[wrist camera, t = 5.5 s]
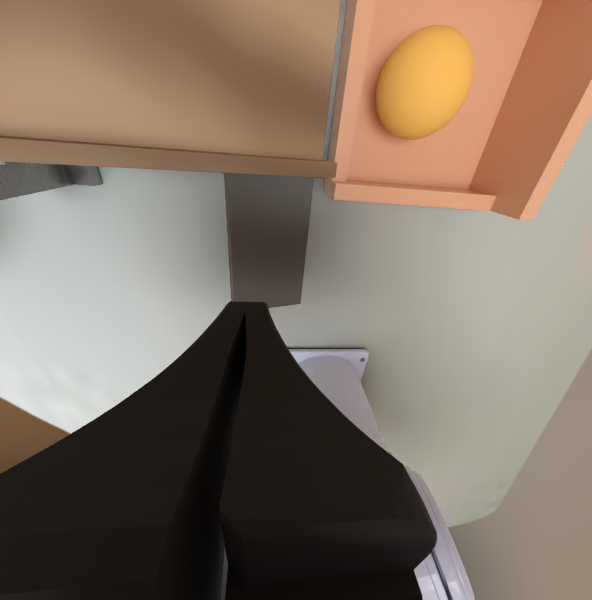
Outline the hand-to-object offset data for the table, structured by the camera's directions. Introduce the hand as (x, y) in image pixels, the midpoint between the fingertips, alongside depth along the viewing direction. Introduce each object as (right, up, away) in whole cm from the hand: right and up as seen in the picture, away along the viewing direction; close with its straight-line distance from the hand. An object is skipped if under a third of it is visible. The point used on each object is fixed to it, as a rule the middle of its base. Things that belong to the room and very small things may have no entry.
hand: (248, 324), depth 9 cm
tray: (+9, +12, +5) cm, 16 cm away
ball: (+8, +11, +2) cm, 13 cm away
